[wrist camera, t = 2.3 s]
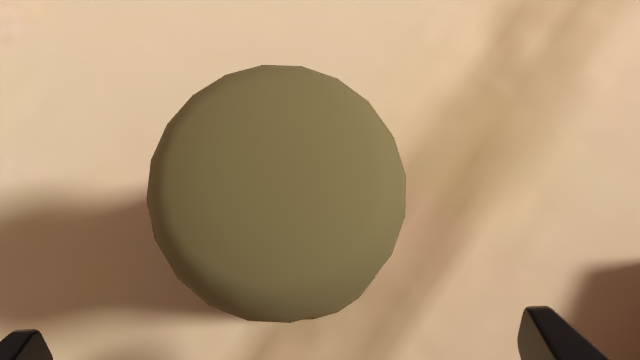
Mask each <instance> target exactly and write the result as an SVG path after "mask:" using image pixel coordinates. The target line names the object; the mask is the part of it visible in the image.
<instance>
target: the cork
mask: <svg viewBox="0 0 640 360" xmlns="http://www.w3.org/2000/svg"><path fill="white" fill-rule="evenodd" d="M405 195H406V175H405V171H404V168H403V165H402V162H401V159H400V155H399V152H398V149H397V146H396V143H395V140H394V137H393V136H392V134H391V132H390V131H389V130H388V128H387V127H386V125H385V124H384V123H383V121H382V120H381V118H380V117H379V116H378V114H377V113H376V111H375V110H374V109H373V107H372V106H371V104H370V103H369V102H368V101H367V100H366V99H364V98H363V97H362V96H360V95H359V94H357V93H356V92H355V91H353V90H352V89H351V88H349V87H348V86H347V85H345V84H344V83H343V82H341V81H340V80H339V79H337V78H334V77H331V76H328V75H325V74H322V73H319V72H316V71H314V70H311V69H308V68H305V67H302V66H277V65H261V66H258V67H254V68H250V69H246V70H243V71H239V72H235V73H231V74H228V75H225V76H223V77H222V78H220V79H218V80H217V81H215V82H214V83H212V84H210V85H209V86H207V87H205V88H204V89H202V90H201V91H199V92H197V93H196V94H194V95H193V96H192V97H191V98H190V99H189V100H188V101H187V102H186V104H185V105H184V106H183V107H182V108H181V109H180V110H179V112H178V113H177V114H176V115H175V116H174V117H173V118H172V119H171V121H170V122H169V123H168V124H167V126H166V128H165V130H164V132H163V135H162V137H161V139H160V141H159V144H158V146H157V148H156V150H155V152H154V155H153V157H152V159H151V164H150V173H149V182H148V191H147V204H148V209H149V213H150V218H151V223H152V228H153V232H154V237H155V240H156V242H157V244H158V245H159V247H160V249H161V251H162V252H163V254H164V256H165V257H166V259H167V261H168V262H169V264H170V266H171V267H172V269H173V271H174V273H175V274H176V276H177V278H178V279H179V280H180V281H182V282H183V283H184V284H185V285H186V286H187V287H189V288H190V289H191V290H192V291H193V292H194V293H196V294H197V295H198V296H199V297H200V298H201V299H203V300H204V301H205V302H206V303H207V304H208V305H210V306H213V307H215V308H218V309H220V310H223V311H225V312H228V313H230V314H233V315H235V316H238V317H240V318H243V319H245V320H248V321H266V322H286V323H291V322H294V321H298V320H302V319H315V318H319V317H322V316H326V315H330V314H333V313H337V312H339V311H340V310H342V309H343V308H344V307H346V306H347V305H349V304H350V303H352V302H353V301H355V300H356V299H358V298H359V297H360V296H361V294H362V293H363V292H364V291H365V289H366V288H367V287H368V285H369V284H370V283H371V281H372V280H373V279H374V278H375V275H376V274H377V273H378V271H379V270H380V269H381V268H382V266H383V265H384V264H385V262H386V261H387V260H388V258H389V257H390V256H391V255H392V252H393V249H394V246H395V243H396V241H397V238H398V235H399V232H400V229H401V226H402V223H403V221H404V218H405Z"/></svg>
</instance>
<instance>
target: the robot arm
mask: <svg viewBox="0 0 640 360" xmlns="http://www.w3.org/2000/svg"><path fill="white" fill-rule="evenodd" d="M518 349H519V353H520V357H521V360H610V359H609V358H608V357H607V356H606V355H604V354H603V353H602V352H601V351H600V350H599V349H597V348H596V347H595V346H594V345H593V344H592V343H591V342H589V341H588V340H587V339H586V338H585V337H584V336H583V335H581V334H580V333H579V332H578V331H577V330H576V329H575V328H573V327H572V326H571V325H570V324H569V323H568V322H567V321H565V320H564V319H563V318H562V317H561V316H560V315H559V314H557V313H556V312H555V311H554V310H553V309H552V308H550V307H548V306H529V307H526V308H525V309H524V312H523V315H522V320H521V324H520V328H519V333H518ZM0 360H53V357H52V354H51V352H50V350H49V348H48V346H47V344H46V342H45V340H44V338H43V336H42V334H41V333H40V332H39V331H38V330H36V329H25V330H16V331H13V332H11V333H10V334H9V335H8V336H6V337H5V338H4V339H3V340H2V341H0Z"/></svg>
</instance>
